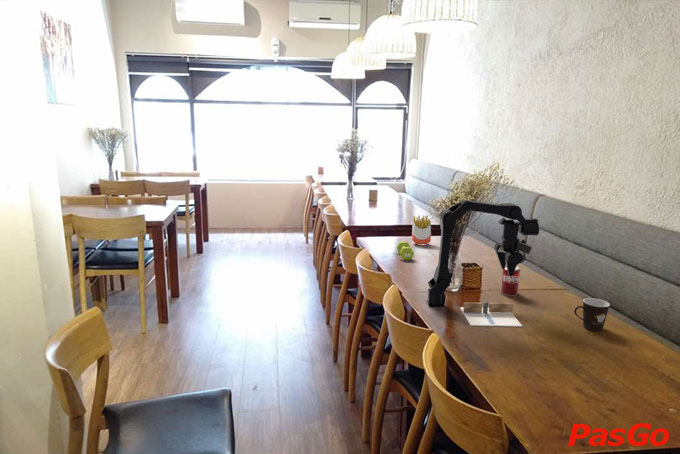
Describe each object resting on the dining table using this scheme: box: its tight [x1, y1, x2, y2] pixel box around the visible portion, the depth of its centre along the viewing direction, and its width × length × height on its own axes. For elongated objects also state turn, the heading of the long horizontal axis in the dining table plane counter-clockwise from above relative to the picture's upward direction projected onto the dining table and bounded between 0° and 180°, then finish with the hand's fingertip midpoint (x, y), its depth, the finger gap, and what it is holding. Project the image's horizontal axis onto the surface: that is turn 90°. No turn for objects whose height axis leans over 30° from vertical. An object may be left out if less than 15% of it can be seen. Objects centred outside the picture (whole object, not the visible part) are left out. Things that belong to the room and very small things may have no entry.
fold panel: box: [488, 302, 514, 314], centre depth 183 cm, size 9×1×4 cm, turn 88°
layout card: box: [459, 306, 523, 328], centre depth 181 cm, size 19×17×1 cm
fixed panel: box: [463, 301, 489, 314], centre depth 183 cm, size 9×2×5 cm, turn 88°
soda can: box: [500, 266, 521, 297], centre depth 204 cm, size 7×7×12 cm
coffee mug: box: [573, 297, 611, 333], centre depth 171 cm, size 12×9×10 cm
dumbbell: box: [396, 240, 415, 261], centre depth 262 cm, size 16×8×7 cm, turn 0°
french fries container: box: [411, 215, 432, 245], centre depth 286 cm, size 5×11×18 cm, turn 91°
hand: (506, 272), depth 189 cm, fingers open, 9 cm apart
